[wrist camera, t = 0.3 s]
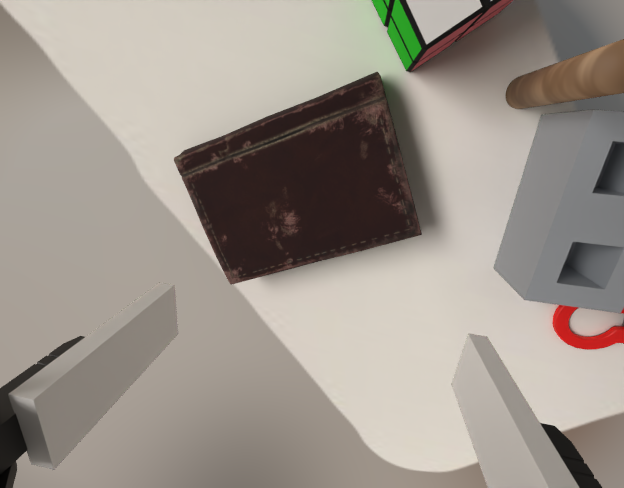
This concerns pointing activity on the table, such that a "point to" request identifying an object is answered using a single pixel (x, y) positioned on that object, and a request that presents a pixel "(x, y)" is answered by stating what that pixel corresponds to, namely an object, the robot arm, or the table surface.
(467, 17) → the puzzle cube
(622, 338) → the tow hook
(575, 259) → the socket block
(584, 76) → the walnut pin
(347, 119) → the diary
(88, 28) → the table surface
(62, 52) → the table surface
